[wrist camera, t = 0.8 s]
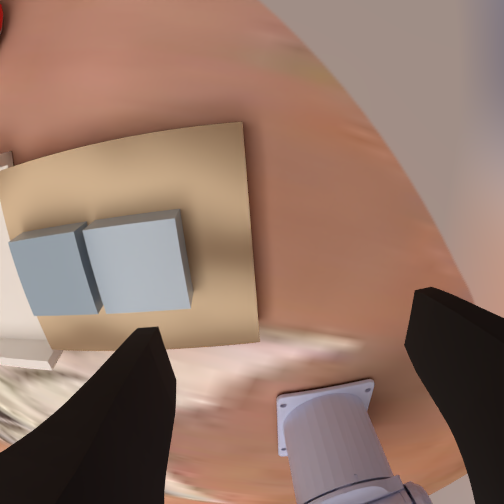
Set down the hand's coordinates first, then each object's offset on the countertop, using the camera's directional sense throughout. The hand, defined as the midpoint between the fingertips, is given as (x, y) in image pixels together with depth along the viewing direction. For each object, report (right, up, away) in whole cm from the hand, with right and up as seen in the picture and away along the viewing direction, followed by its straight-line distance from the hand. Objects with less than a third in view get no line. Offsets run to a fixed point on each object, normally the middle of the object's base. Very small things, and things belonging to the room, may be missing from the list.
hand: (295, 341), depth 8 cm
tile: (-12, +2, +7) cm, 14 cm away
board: (-8, +3, +9) cm, 12 cm away
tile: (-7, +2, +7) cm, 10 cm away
